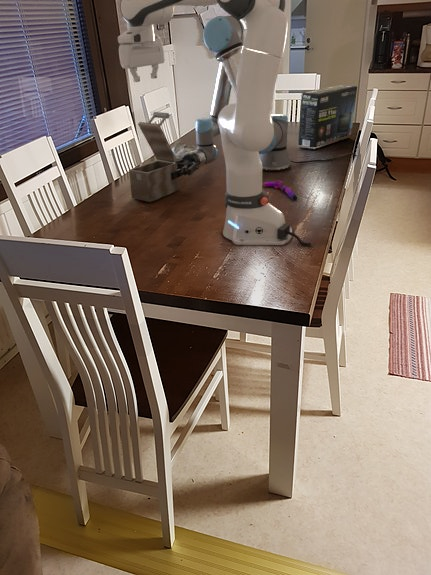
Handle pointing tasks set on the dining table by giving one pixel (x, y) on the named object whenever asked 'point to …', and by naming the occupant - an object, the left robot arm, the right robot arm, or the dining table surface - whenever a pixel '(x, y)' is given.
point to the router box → (326, 115)
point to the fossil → (182, 150)
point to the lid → (157, 138)
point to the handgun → (281, 185)
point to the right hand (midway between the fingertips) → (161, 174)
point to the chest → (153, 180)
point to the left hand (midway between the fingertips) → (145, 80)
